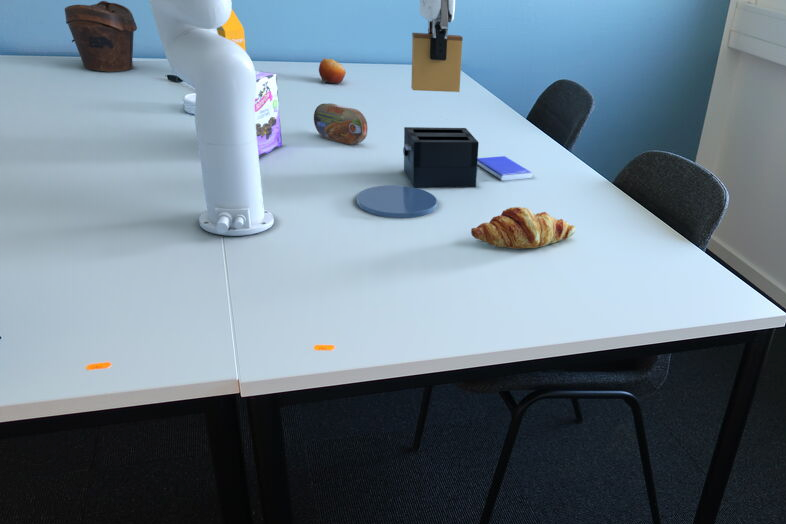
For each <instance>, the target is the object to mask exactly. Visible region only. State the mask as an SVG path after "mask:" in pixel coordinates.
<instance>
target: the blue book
mask: <svg viewBox="0 0 786 524" xmlns="http://www.w3.org/2000/svg"><path fill="white" fill-rule="evenodd" d="M477 166H479V167H480V168H482V169H484V170H485V171H487V172H488V173H490V174H491V175H493V176H494V177H496V178H497V179H499V180H500V181H502V182H504V181H517V180H526V179H531V178H532V176H533V173H532V171H530V170H528V169H527V168H525V167H523V166H522V165H520V164H519V163H517V162H516V161H514V160H512V159H510V158H509V157H507V156H506V155H502V156H501V155H500V156H493V157H492V156H490V157H488V156H487V157H478V161H477Z"/></svg>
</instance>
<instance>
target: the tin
mask: <svg viewBox="0 0 786 524" xmlns="http://www.w3.org/2000/svg"><path fill="white" fill-rule="evenodd" d="M313 122H314V127H315V129H316V132H318V134H319V135H320V136H321V137H322V138H324V139H326V140H329V141H330V140H331V141H335V142H338V143H342V144H345V145H350V146H353V145H356V144H361V143H362V142H364V141H365V139H366V138H367V136H368V122H367V118H366V117H365V116H364V114H363V113H362V112H361V111H360V110H358V109H356V108H353V107H348V106H343V105H340V104H336V103H332V102H331V103H330V102H329V103H328V102H327V103H321V104H319V105H318V106H316V108H315V110H314V113H313Z"/></svg>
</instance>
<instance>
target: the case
mask: <svg viewBox="0 0 786 524" xmlns="http://www.w3.org/2000/svg"><path fill="white" fill-rule="evenodd" d="M64 15H65V24H67V25H68V29H69V31H70V33H71V36H72V38H73V39H72V40H71V43H74V44H75V47H76V49H77V51H78V55H79V56H80V59H81V62H82V64H83V67H84V68H85V69H88V70H91V71H97V72H124V71H129V70H131V69H133V68H134V65H133V54H134V33H135V31H137V30H138V26H137V22H136V21H135V17H134V15H133V13H132V11H131V10H130V9H129V8H128V7H126V6H124V5H122V4H119V3H116V2H109V1H106V0H101V1H99V2H97V3H94V4H90V5H87V4H72V5H68V6H65V8H64Z"/></svg>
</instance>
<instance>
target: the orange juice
mask: <svg viewBox="0 0 786 524" xmlns="http://www.w3.org/2000/svg"><path fill="white" fill-rule="evenodd" d="M217 32H218V35H220V36H222V37H224V38H227V39H229V40H231V41H233V42H234V43H236V44H238V45H239V46H240V47H241V48H242V49H243V50H244V51H245V52H246V53H247V48H246V38H245V28H244V26H243V24H242V23H241V21H240V19H239V18H238V17H237V14H236V13H235V11H234V10H233V8H232V10H231V15H230V17H229V19H228V20H227V22H226V23H225V24H224V25H222V26H221V27H218V28H217Z"/></svg>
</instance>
